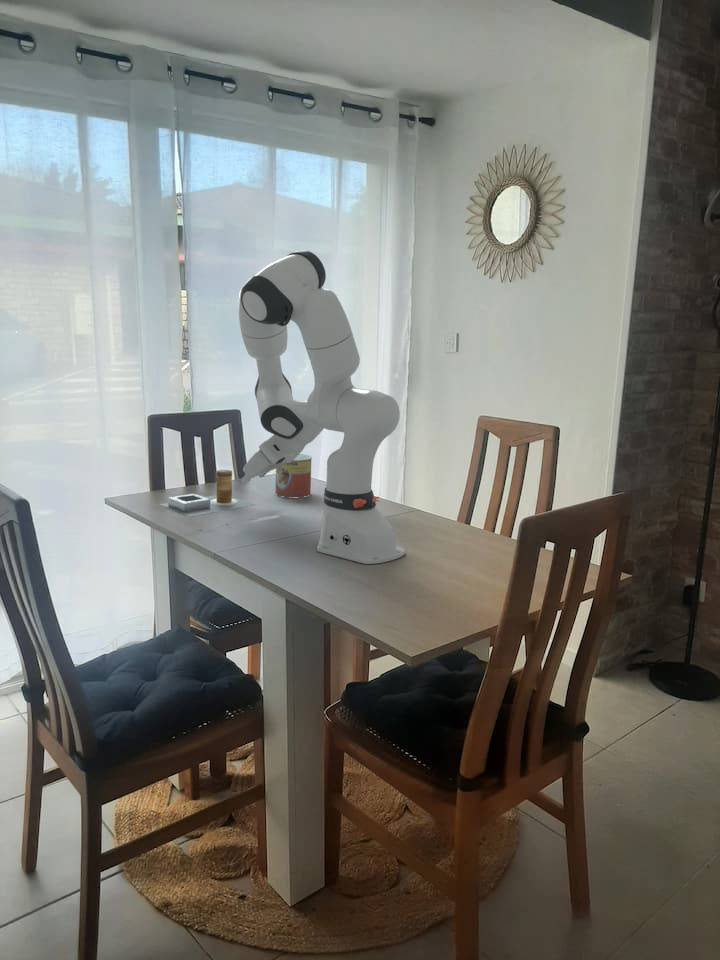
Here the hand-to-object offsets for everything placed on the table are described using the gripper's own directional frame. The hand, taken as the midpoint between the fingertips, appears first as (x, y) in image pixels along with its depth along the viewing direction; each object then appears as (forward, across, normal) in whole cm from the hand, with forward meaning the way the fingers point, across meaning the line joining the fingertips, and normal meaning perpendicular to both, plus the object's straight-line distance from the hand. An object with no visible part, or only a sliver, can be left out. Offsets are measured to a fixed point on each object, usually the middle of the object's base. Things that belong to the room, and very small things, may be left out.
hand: (251, 478), depth 204 cm
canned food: (+7, -26, +8) cm, 28 cm away
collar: (+17, +7, -6) cm, 19 cm away
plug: (+13, -2, -2) cm, 14 cm away
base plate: (+16, +2, -2) cm, 16 cm away
